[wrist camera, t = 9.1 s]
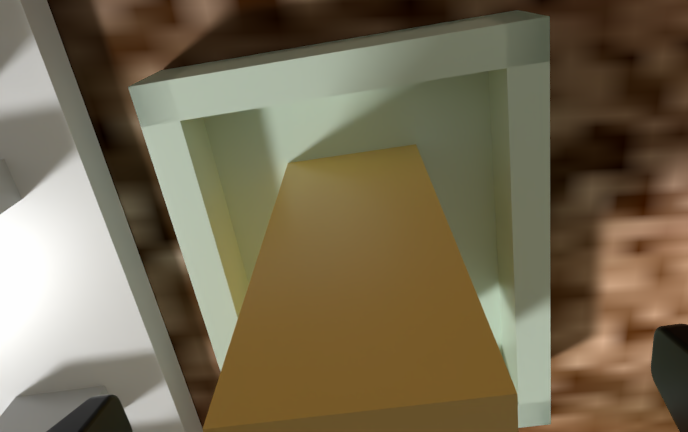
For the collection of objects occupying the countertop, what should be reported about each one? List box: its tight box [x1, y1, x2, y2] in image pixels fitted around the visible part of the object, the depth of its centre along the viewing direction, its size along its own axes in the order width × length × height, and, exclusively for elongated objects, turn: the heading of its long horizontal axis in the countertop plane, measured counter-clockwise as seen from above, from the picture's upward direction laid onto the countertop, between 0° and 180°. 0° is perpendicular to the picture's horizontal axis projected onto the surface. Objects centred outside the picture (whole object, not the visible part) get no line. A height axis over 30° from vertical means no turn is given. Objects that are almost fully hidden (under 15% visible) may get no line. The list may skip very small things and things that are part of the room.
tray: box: [128, 10, 551, 428], centre depth 13 cm, size 10×8×2 cm
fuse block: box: [0, 0, 203, 432], centre depth 13 cm, size 26×6×3 cm, turn 9°
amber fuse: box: [202, 144, 518, 432], centre depth 10 cm, size 5×3×8 cm, turn 9°
